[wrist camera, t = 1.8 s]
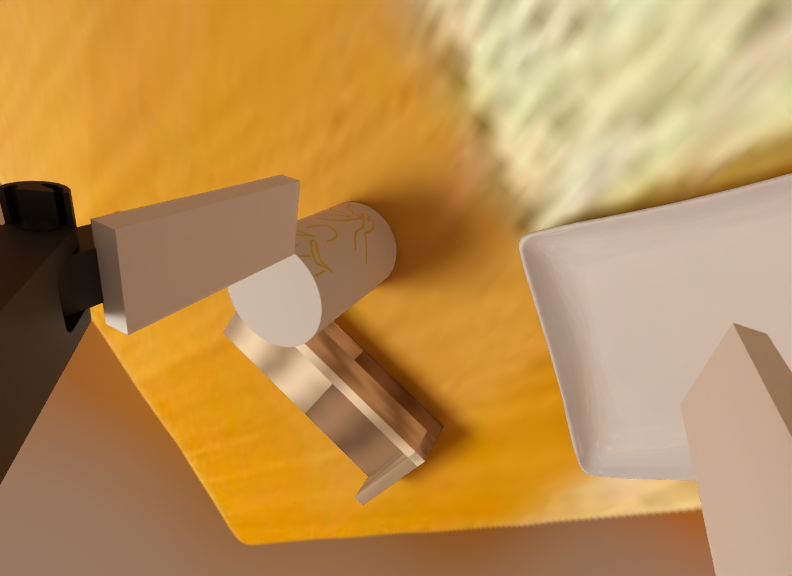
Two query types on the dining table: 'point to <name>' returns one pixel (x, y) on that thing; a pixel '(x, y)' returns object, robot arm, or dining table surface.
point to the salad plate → (656, 315)
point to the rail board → (347, 401)
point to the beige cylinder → (317, 275)
